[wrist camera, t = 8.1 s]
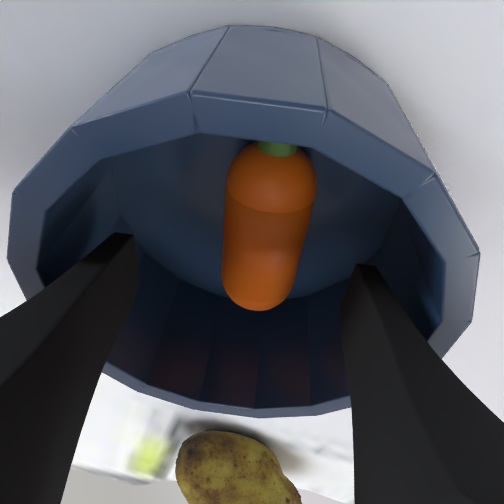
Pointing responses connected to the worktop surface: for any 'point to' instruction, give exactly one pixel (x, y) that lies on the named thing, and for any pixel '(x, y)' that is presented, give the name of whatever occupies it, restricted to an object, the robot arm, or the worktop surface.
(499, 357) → the worktop surface
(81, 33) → the worktop surface
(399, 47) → the worktop surface
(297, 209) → the carrot
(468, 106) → the worktop surface
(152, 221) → the pot
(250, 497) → the potato
